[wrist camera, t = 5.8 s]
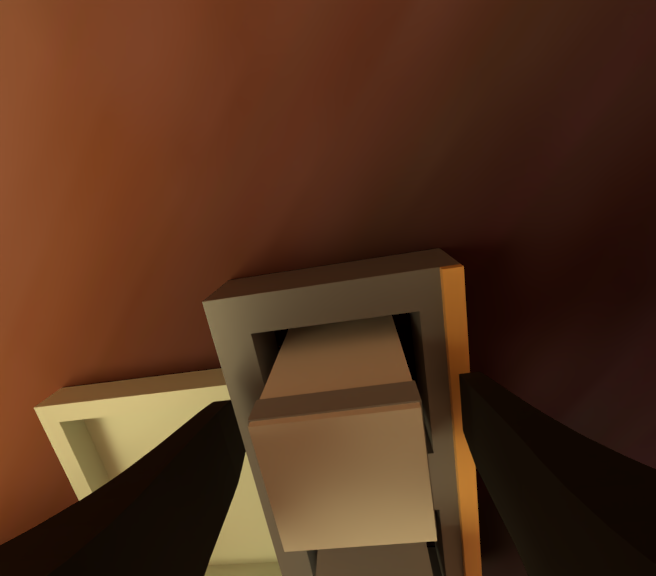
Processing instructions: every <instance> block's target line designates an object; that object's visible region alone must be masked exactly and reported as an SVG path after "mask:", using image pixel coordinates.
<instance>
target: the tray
mask: <svg viewBox="0 0 656 576" xmlns="http://www.w3.org/2000/svg"><path fill="white" fill-rule="evenodd" d="M224 400H231V399H230V396H229V392H228V389H227V385H226V382H225V379H224V375H223V372H222V368H218V369H210V370H202V371H194V372H186V373H178V374H170V375H162V376H154V377H145V378H137V379H129V380H121V381H113V382H105V383H97V384H89V385H81V386H73V387H65V388H61V389H59V390H58V391H56V392H55V393H54V394H52V395H51V396H49V397H48V398H47V399H45V400H44V401H42V402H41V403H40V404H38V405H37V406H35V407H34V409H35V411H36V413H37V415H38V417H39V419H40V421H41V424H42V426H43V428H44V430H45V432H46V434H47V436H48V438H49V440H50V442H51V444H52V446H53V448H54V450H55V452H56V454H57V456H58V458H59V461H60V463H61V465H62V467H63V469H64V471H65V473H66V475H67V477H68V479H69V481H70V483H71V485H72V487H73V489H74V491H75V493H76V495H77V497H78V500H79V501H80V500H81V499H83V498H85V497H86V496H88V495H89V494H91V493H92V492H94V491H95V490H97V489H98V488H100V487H101V486H103V485H104V484H106V483H107V482H109V481H110V480H112V479H113V478H115V477H116V476H118V475H119V474H120V473H122V472H123V471H125V470H126V469H127V468H129V467H130V466H131V465H133V464H134V463H135V462H137V461H138V460H139V459H140V458H142V457H143V456H144V455H146V454H147V453H148V452H150V451H151V450H152V449H154V448H155V447H156V446H158V445H159V444H160V443H161V442H163V441H164V440H165V439H166V438H168V437H169V436H170V435H171V434H172V433H174V432H175V431H176V430H177V429H179V428H180V427H181V426H182V425H184V424H185V423H186V422H187V421H188V420H190V419H191V418H192V417H193V416H195V415H196V414H197V413H198V412H200V411H201V410H202V409H204V408H205V407H206V406H208V405H209V404H211V403H212V402H215V401H224ZM205 576H282V574H281V570H280V567H279V563H278V560H277V557H276V553H275V550H274V546H273V543H272V539H271V536H270V533H269V529H268V526H267V522H266V519H265V515H264V512H263V509H262V505H261V502H260V498H259V495H258V491H257V488H256V485H255V481H254V478H253V474H252V471H251V468H250V464H249V461H248V457H247V454H246V453H245V457H244V462H243V467H242V471H241V475H240V479H239V483H238V486H237V488H236V491H235V494H234V497H233V499H232V502H231V505H230V508H229V510H228V513H227V516H226V518H225V521H224V524H223V526H222V529H221V532H220V534H219V537H218V539H217V542H216V545H215V547H214V550H213V553H212V555H211V558H210V561H209V564H208V567H207V570H206V573H205Z"/></svg>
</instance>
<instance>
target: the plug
mask: <svg viewBox="0 0 656 576" xmlns="http://www.w3.org/2000/svg"><path fill="white" fill-rule="evenodd" d="M248 423H249V426H248V430H249V433H250V437H251V440H252V443H253V447H254V450H255V454H256V457H257V460H258V464H259V467H260V471H261V474H262V477H263V481H264V484H265V488H266V491H267V494H268V498H269V501H270V505H271V508H272V511H273V515H274V518H275V522H276V525H277V528H278V532H279V535H280V539H281V542H282V545H283V549H284V552H290V551H304V550H318V549H332V548H346V547H360V546H374V545H388V544H402V543H416V542H430V541H437V536H436V535H437V527H436V519H435V510H434V502H433V494H432V485H431V477H430V469H429V460H428V452H427V444H426V435H425V427H424V418H423V410H422V402H421V398H420V395H419V392H418V388H417V385H416V382H415V380H414V381H412V378H411V374H410V371H409V368H408V365H407V362H406V359H405V356H404V352H403V349H402V346H401V343H400V340H399V337H398V333H397V330H396V327H395V324H394V321H393V318H392V315H387V316H380V317H372V318H365V319H357V320H350V321H342V322H335V323H328V324H320V325H313V326H305V327H298V328H290V329H288V332H287V334H286V337H285V339H284V341H283V344H282V346H281V349H280V351H279V353H278V356H277V358H276V361H275V363H274V365H273V368H272V370H271V373H270V375H269V377H268V380H267V382H266V385H265V387H264V390H263V392H262V394H261V397H260V399H259V400H256V402H255V404H254V407H253V409H252V411H251V414H250V416H249V418H248Z"/></svg>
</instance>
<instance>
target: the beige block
mask: <svg viewBox="0 0 656 576" xmlns="http://www.w3.org/2000/svg"><path fill="white" fill-rule="evenodd" d="M316 576H433V573H432V568H431V563H430V559H429V554H428V549H427V544H426V542H416V543H402V544H388V545H374V546H360V547H346V548H332V549H318V553H317V565H316Z"/></svg>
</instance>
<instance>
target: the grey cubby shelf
mask: <svg viewBox="0 0 656 576" xmlns="http://www.w3.org/2000/svg"><path fill="white" fill-rule="evenodd" d="M202 303H203V307H204V310H205V313H206V317H207V320H208V324H209V327H210V331H211V334H212V337H213V341H214V344H215V348H216V351H217V355H218V358H219V361H220V365H221V368H222V372H223V375H224V379H225V382H226V385H227V389H228V392H229V396H230V399H231V402H232V405H233V409H234V412H235V416H236V419H237V422H238V426H239V429H240V433H241V436H242V440H243V443H244V447H245V450H246V454H247V457H248V461H249V464H250V468H251V471H252V474H253V478H254V481H255V485H256V488H257V491H258V495H259V498H260V502H261V505H262V509H263V512H264V515H265V519H266V522H267V526H268V529H269V533H270V536H271V539H272V543H273V546H274V550H275V553H276V557H277V560H278V563H279V567H280V570H281V574H282V576H316V565H317V553H318V550H304V551H290V552H284V549H283V545H282V542H281V539H280V535H279V532H278V528H277V525H276V522H275V518H274V515H273V511H272V508H271V505H270V501H269V498H268V494H267V491H266V488H265V484H264V481H263V477H262V474H261V471H260V467H259V464H258V460H257V457H256V454H255V450H254V447H253V443H252V440H251V437H250V433H249V430H248V426H249V423H248V418H249V416H250V414H251V411H252V409H253V407H254V404H255V402H256V400H259V399H260V397H261V394H262V392H263V390H264V387H265V385H266V382H267V380H268V377H269V375H270V373H271V370H272V368H273V365H274V363H275V361H276V358H277V356H278V353H279V350H278V345H277V341H276V337H275V333H274V331H275V330H283V329H290V328H298V327H305V326H313V325H320V324H328V323H335V322H342V321H350V320H357V319H365V318H372V317H380V316H387V315H395V314H402V313H410V320H411V330H412V339H413V348H414V357H415V366H416V375H417V385H418V392H419V395H420V398H421V402H422V410H423V418H424V427H425V435H426V444H427V452H428V460H429V469H430V477H431V485H432V494H433V502H434V510H435V519H436V527H437V535H436V536H437V541H435V547H428V548H427V549H428V554H429V559H430V563H431V568H432V573H433V576H482V569H481V552H480V534H479V517H478V500H477V483H476V466H475V463H474V460H473V458H472V455H471V452H470V450H469V447H468V444H467V441H466V438H465V435H464V433H463V426H462V412H461V397H460V383H459V374H463V373H470V363H469V346H468V329H467V312H466V295H465V278H464V266H463V265H461V264H460V263H459V262H457V261H456V260H455V259H453V258H452V257H451V256H449V255H448V254H447V253H445V252H444V251H443V250H441V249H440V248H437V249H430V250H423V251H417V252H410V253H404V254H397V255H391V256H384V257H378V258H371V259H364V260H358V261H351V262H345V263H338V264H332V265H325V266H319V267H312V268H306V269H299V270H292V271H286V272H279V273H273V274H266V275H260V276H253V277H247V278H240V279H233V280H228V281H227V282H226V283H225V284H223V285H222V286H221V287H220V288H219V289H217V290H216V291H215V292H214V293H212V294H211V295H210V296H209V297H208V298H206V299H205V300H204V301H203V302H202Z"/></svg>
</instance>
